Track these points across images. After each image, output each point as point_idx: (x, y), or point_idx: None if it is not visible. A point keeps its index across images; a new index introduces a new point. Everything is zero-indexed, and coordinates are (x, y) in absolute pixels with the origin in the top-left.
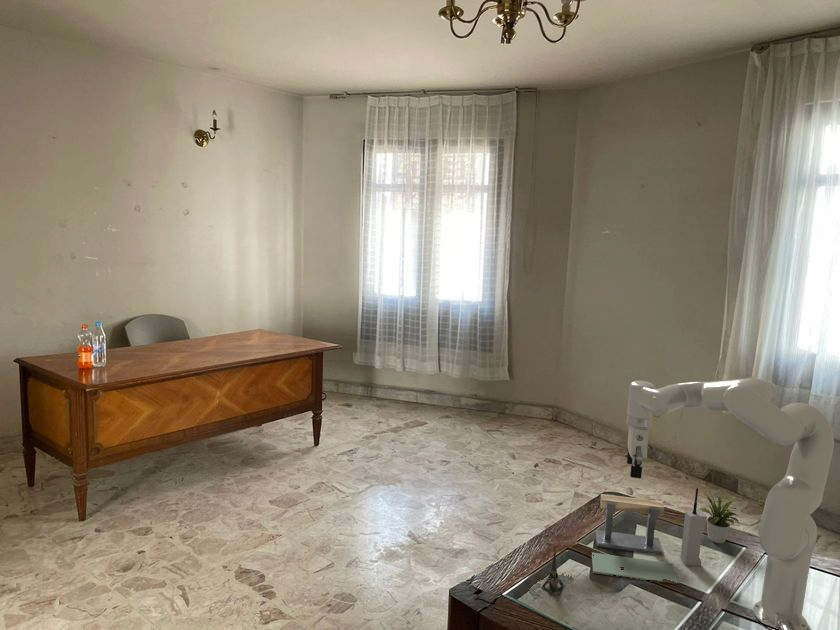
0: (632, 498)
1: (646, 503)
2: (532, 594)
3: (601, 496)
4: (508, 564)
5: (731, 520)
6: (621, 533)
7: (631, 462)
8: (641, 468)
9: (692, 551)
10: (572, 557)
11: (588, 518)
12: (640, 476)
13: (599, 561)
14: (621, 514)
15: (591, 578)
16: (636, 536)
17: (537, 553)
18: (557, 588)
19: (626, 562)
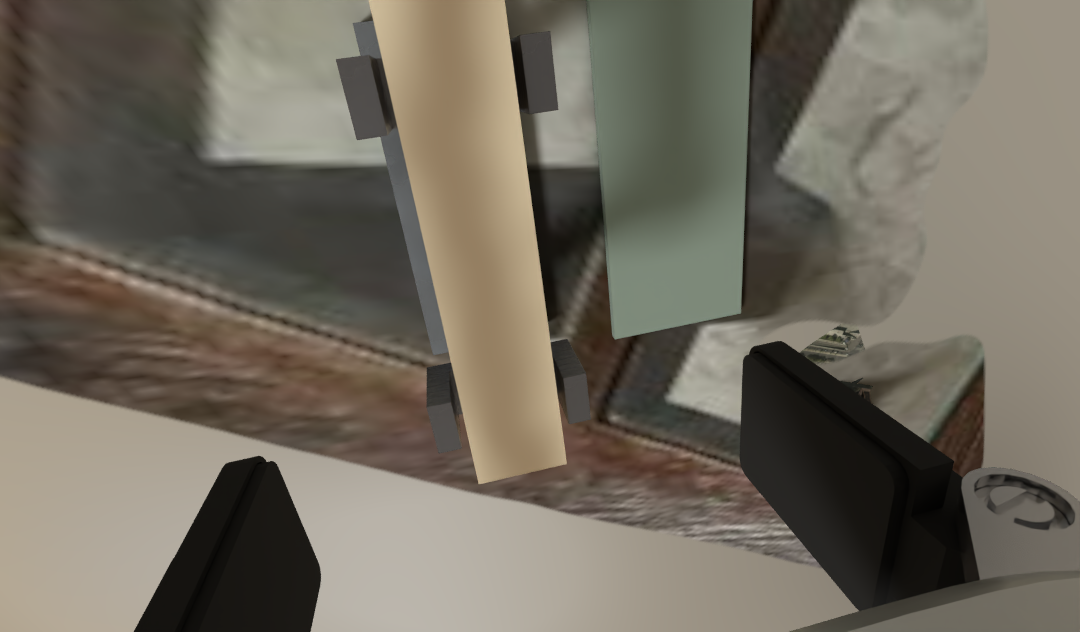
0: (446, 274)
1: (491, 151)
2: None
3: (518, 474)
4: (748, 539)
5: None
6: (408, 238)
7: (297, 552)
8: (908, 443)
9: None
10: (657, 392)
11: (306, 396)
12: (794, 360)
13: (672, 301)
14: (143, 252)
15: (770, 310)
16: (401, 158)
17: (667, 492)
18: (866, 399)
19: (646, 193)
